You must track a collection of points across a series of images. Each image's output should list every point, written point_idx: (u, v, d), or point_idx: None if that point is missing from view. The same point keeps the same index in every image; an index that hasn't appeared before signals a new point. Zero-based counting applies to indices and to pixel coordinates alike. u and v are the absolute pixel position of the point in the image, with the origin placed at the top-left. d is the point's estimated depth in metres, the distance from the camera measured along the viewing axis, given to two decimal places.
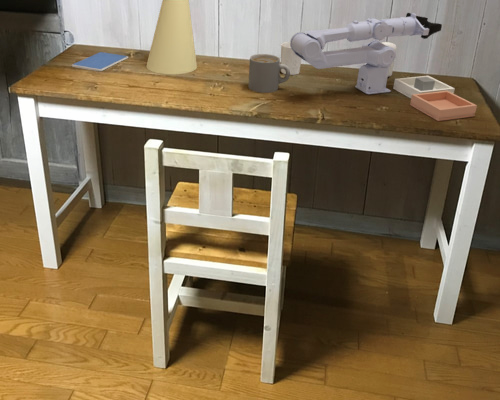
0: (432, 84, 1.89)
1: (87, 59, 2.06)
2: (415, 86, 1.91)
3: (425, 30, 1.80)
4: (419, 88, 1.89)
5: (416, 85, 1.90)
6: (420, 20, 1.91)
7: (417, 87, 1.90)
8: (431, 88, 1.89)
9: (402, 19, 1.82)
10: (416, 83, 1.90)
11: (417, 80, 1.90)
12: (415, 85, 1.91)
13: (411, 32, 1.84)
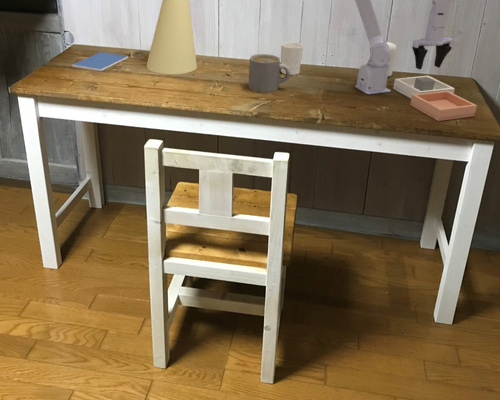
0: (432, 84, 1.89)
1: (87, 59, 2.06)
2: (415, 86, 1.91)
3: (416, 43, 1.80)
4: (419, 88, 1.89)
5: (416, 85, 1.90)
6: (439, 58, 1.87)
7: (417, 87, 1.90)
8: (431, 88, 1.89)
9: (439, 28, 1.78)
10: (416, 83, 1.90)
11: (417, 80, 1.90)
12: (415, 85, 1.91)
13: (425, 36, 1.82)
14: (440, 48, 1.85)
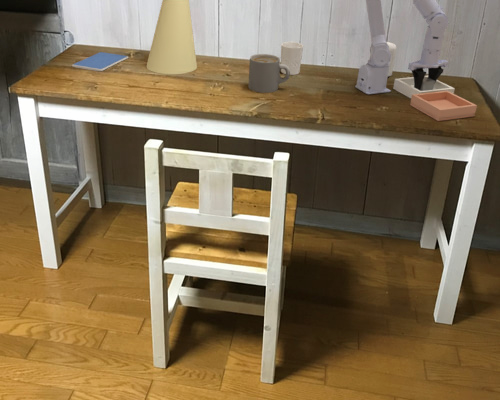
0: (432, 84, 1.89)
1: (87, 59, 2.06)
2: None
3: (411, 65, 1.83)
4: None
5: None
6: None
7: None
8: (431, 88, 1.89)
9: (434, 51, 1.82)
10: None
11: None
12: None
13: None
14: (432, 70, 1.89)
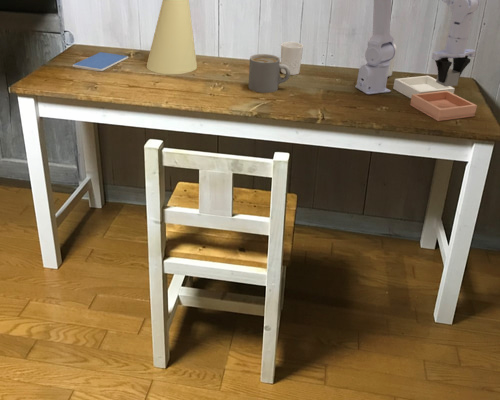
0: (457, 76, 1.72)
1: (87, 59, 2.06)
2: (437, 79, 1.75)
3: (436, 55, 1.67)
4: None
5: None
6: None
7: None
8: (456, 81, 1.73)
9: (461, 39, 1.65)
10: None
11: None
12: None
13: (445, 47, 1.69)
14: (458, 60, 1.72)
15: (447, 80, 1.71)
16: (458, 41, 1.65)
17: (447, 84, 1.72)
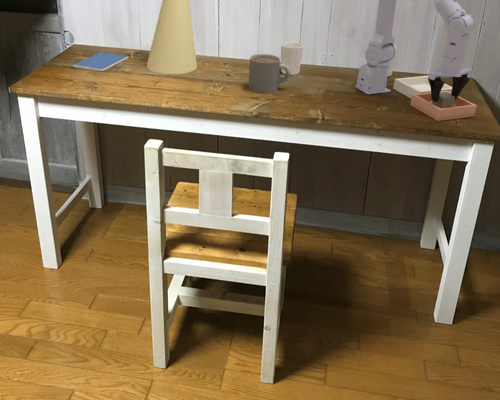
0: (452, 100, 1.75)
1: (88, 59, 2.06)
2: (433, 102, 1.78)
3: (432, 74, 1.69)
4: (438, 104, 1.76)
5: (434, 101, 1.77)
6: (456, 90, 1.76)
7: (435, 103, 1.77)
8: (451, 104, 1.76)
9: (457, 59, 1.67)
10: None
11: None
12: (433, 101, 1.78)
13: (441, 67, 1.72)
14: (457, 79, 1.75)
15: (442, 104, 1.75)
16: (454, 61, 1.68)
17: None
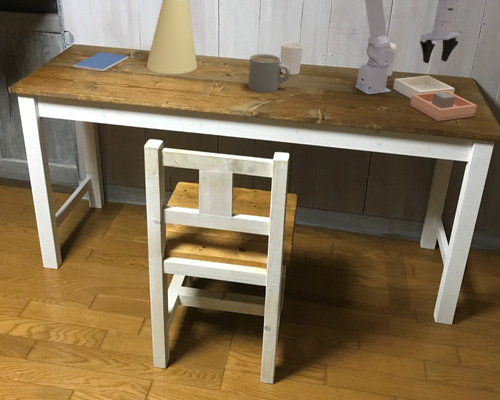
0: (452, 100, 1.75)
1: (88, 59, 2.06)
2: (433, 102, 1.78)
3: (423, 37, 1.85)
4: (438, 104, 1.76)
5: (434, 101, 1.77)
6: (446, 53, 1.92)
7: (435, 103, 1.77)
8: (451, 104, 1.76)
9: (446, 22, 1.83)
10: (434, 99, 1.77)
11: (435, 96, 1.76)
12: (433, 101, 1.78)
13: (432, 30, 1.87)
14: (447, 42, 1.91)
15: (442, 104, 1.75)
16: (443, 25, 1.83)
17: None
